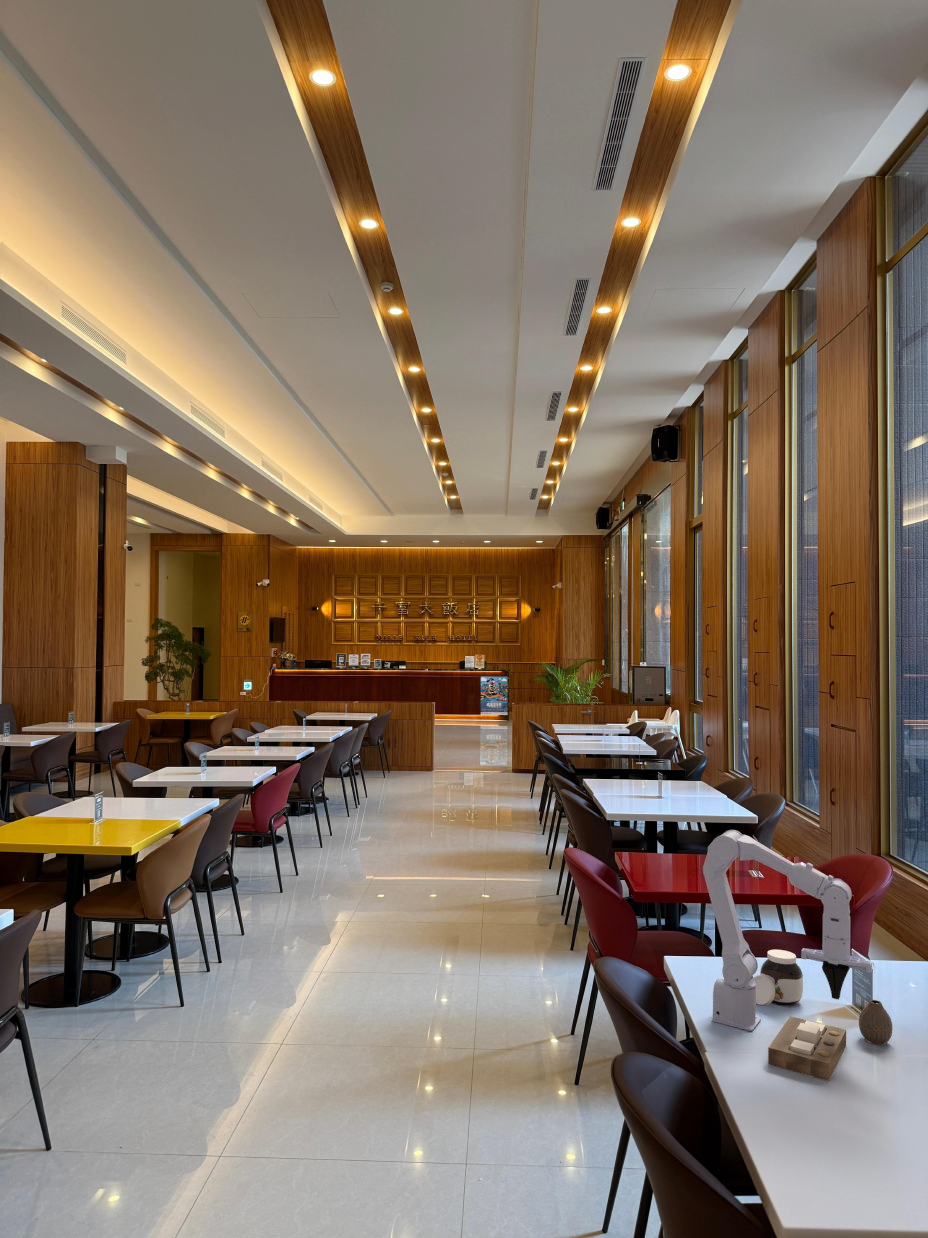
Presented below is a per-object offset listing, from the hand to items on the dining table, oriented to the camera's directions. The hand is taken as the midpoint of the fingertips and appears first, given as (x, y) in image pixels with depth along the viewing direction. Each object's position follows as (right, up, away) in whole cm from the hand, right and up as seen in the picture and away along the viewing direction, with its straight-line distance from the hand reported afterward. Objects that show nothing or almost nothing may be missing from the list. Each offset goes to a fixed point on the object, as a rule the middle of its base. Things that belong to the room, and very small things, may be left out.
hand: (835, 997), depth 189 cm
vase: (+10, -11, +2) cm, 15 cm away
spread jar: (-5, -12, +23) cm, 26 cm away
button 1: (-12, -9, -11) cm, 19 cm away
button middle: (-9, -8, -6) cm, 13 cm away
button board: (-9, -10, -6) cm, 14 cm away
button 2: (-5, -10, -1) cm, 11 cm away
